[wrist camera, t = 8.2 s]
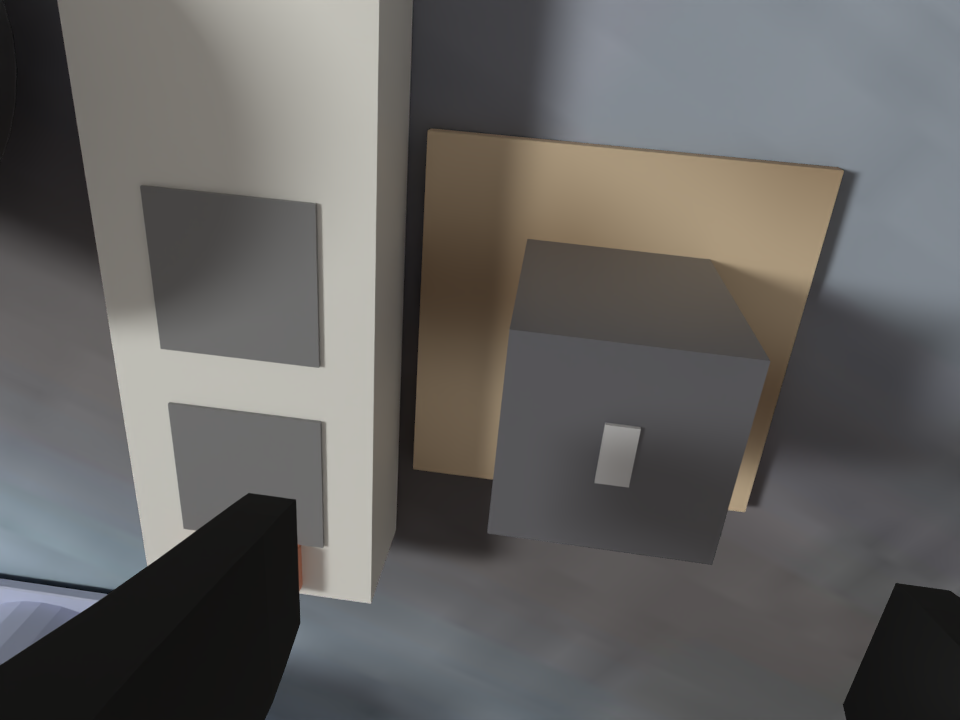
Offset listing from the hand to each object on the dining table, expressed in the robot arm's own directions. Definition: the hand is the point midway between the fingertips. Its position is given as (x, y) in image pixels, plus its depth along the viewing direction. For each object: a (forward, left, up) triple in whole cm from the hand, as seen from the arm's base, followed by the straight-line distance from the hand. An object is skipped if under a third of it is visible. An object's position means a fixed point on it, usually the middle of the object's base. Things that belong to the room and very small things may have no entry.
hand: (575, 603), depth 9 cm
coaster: (0, -1, -10) cm, 10 cm away
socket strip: (+3, +7, -10) cm, 13 cm away
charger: (0, -1, -10) cm, 10 cm away
